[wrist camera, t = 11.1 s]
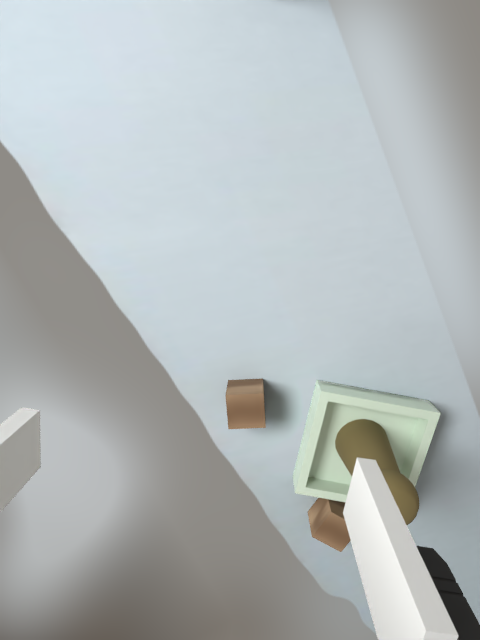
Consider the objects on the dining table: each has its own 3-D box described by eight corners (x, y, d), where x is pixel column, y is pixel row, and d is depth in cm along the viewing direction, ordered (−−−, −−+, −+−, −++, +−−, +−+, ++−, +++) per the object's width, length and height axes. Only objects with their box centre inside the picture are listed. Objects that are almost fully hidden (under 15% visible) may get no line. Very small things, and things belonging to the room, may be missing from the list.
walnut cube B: (325, 488, 47) (331, 512, 43) (352, 503, 47) (360, 528, 43) (307, 511, 48) (312, 536, 44) (334, 525, 48) (340, 552, 44)
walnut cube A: (228, 380, 44) (225, 395, 40) (262, 378, 43) (263, 393, 39) (230, 411, 45) (228, 429, 41) (264, 409, 44) (265, 427, 40)
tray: (316, 379, 43) (321, 391, 40) (428, 400, 43) (440, 413, 40) (292, 476, 46) (295, 493, 43) (396, 495, 46) (406, 513, 43)
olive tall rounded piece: (382, 413, 43) (424, 476, 32) (392, 458, 44) (435, 534, 33) (329, 425, 43) (353, 491, 33) (341, 469, 45) (367, 547, 34)
